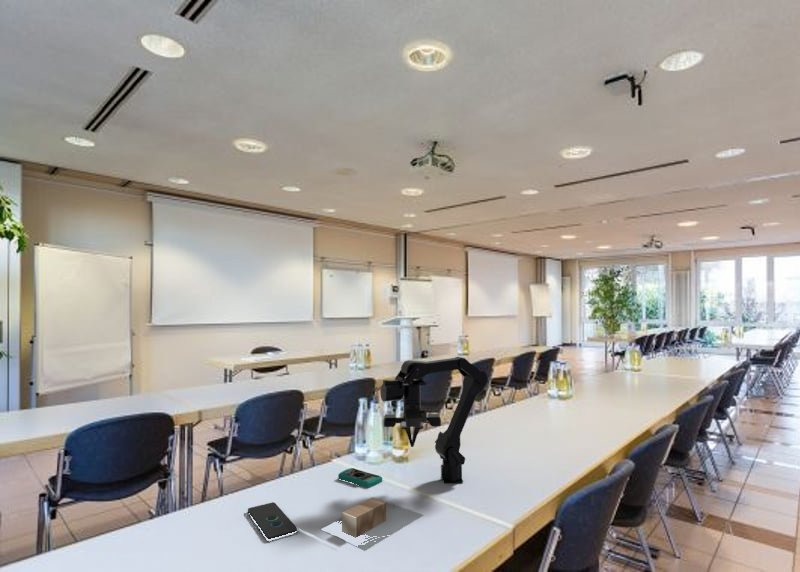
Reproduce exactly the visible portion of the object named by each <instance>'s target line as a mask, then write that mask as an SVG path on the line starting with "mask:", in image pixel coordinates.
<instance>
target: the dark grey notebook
mask: <svg viewBox="0 0 800 572" xmlns="http://www.w3.org/2000/svg"><path fill="white" fill-rule="evenodd" d="M248 512H249V513H250V515H251V516H252V517H253V519H254V520H255V521H256V523H257V524H258V526H259V527H260V528H261V530H262V531H263V533H264V534H265V536H266V537H267V538H268V539H271V538H275V537H279V536H282V535H286V534H288V533H292V532H295V531H297V532H298V528H297V526H296V525H295V524H294V522H292V521H291V519H290V518H289V517H288V516H287V515H286V513H284V511H283V510H282V509H281V508H280V507H279V505H278V504H277V503H276V502H273V501H272V502H269V503H263V504H260V505H256V506H252V507H248V508H247V513H248Z"/></svg>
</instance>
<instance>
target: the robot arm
mask: <svg viewBox="0 0 800 572" xmlns="http://www.w3.org/2000/svg"><path fill="white" fill-rule="evenodd" d="M456 370H457V371H458V373H460V375H461V376H462V377H463V380H462V393H461V396H460V398H459V400H458V403H457V405H456V407H455V409H454V412H453V415H452V417H451V420H450V422H449V424H448V427H447V429H446V430H444V432H442V431H439V433H438V435H437V438H436V440H435V441H434V443H435V445H434V449H435V452H436V453H437V454H438V455H439V458H440V459H441V461H442V464H440V479H441V480H442V481H444V482H443V483H444V484H463V483H464V480H463V465H465V461H466V457H465V456H464V455H463V454H462V453H461V452H460V448H461V435H462V433H463V431H464V428H465V425H466V423H467V420H468V418H469V415H470V413H471V410H472V408H473V405H474V403H475V400H476V398H477V396H479V394H481V393H482V392H483V391H484V389H485V388H486V386H487V384H488V381H489V377H488V374H487V373H486V372H485V371H483V370H480V369H479V368H478V367H476V366H475V365H474V364H472V363H470V362H469V360H468V359H466V357H465V358H464V357H462V356H456V357H451V358H444V359H437V360H435V359H434V360H429V361H424V360H423V361H421V360H410V359H408V360H404V361H403V363H402V364H401V367H400V370H399V372H398V374H396V376H395V378H394V379H390V380H389V379H383V380H382V383H381V387H380V389H379V391H380V393H379V394H380V398H381V401H382V402H394V401H396V402H397V401H401V400H402V399H403V401H402V402H403V404H402V405H403V409H402V410H403V417H398V416H397V415H396V414H385V415H384V416H383V427H384V428H394V427H395V426H396V425H397V424H400V429H401V430H404V431H405V433H406V435H407V438H408V443H409V445H410V447H411V448H413V447H414V446H415V443H416V440H417V437H418V434H419V432H420V430H423V429H424V424H429V426H431V427H441V426H442V418H441V417H440V415H439V413H428V412H427V410H421V407H422V405H421V386H427V382H426V381H425V380H424V379H423V378H424V377H427V376H428V375H430V374H436V373H442V372H449V371H456ZM411 428H412V430H411Z"/></svg>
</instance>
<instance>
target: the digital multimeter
mask: <svg viewBox="0 0 800 572" xmlns="http://www.w3.org/2000/svg"><path fill="white" fill-rule="evenodd" d="M337 477H338V478H337V479H341V480H345V481H348V482H352V483H354V484H357V485H359V486H360V487H363V488H366V489H370V488H372V487H375V486H377V485H379V484H381V483H383V477H382V476H381V475H377V474H374V473H370V472H367V471H364V470H361V469H357V468H354V467H351V468H346V469H345V470H343V471H341V472H340V473H338V476H337ZM359 486H358V487H359Z"/></svg>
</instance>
